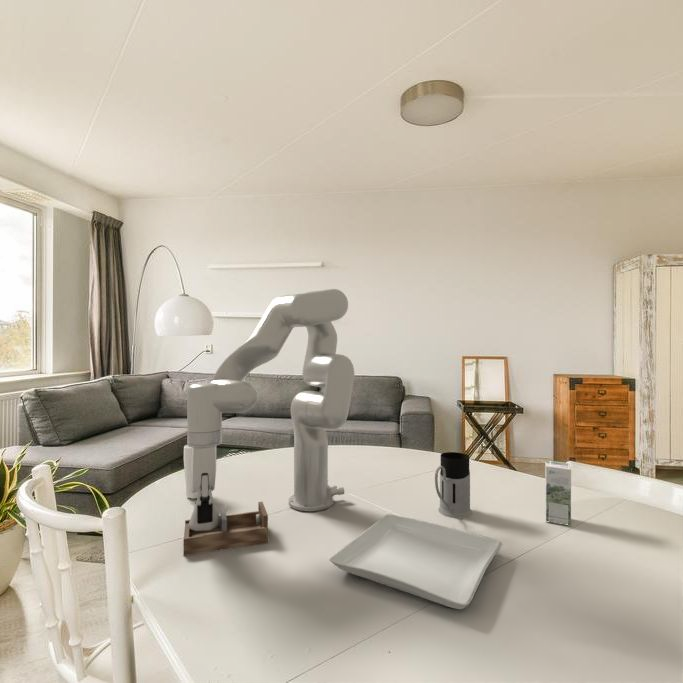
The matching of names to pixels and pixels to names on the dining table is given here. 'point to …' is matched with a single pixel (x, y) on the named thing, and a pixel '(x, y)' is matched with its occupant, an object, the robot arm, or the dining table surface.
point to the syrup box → (558, 492)
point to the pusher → (223, 520)
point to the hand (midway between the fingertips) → (205, 516)
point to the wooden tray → (229, 533)
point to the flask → (204, 526)
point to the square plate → (420, 559)
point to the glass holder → (454, 485)
